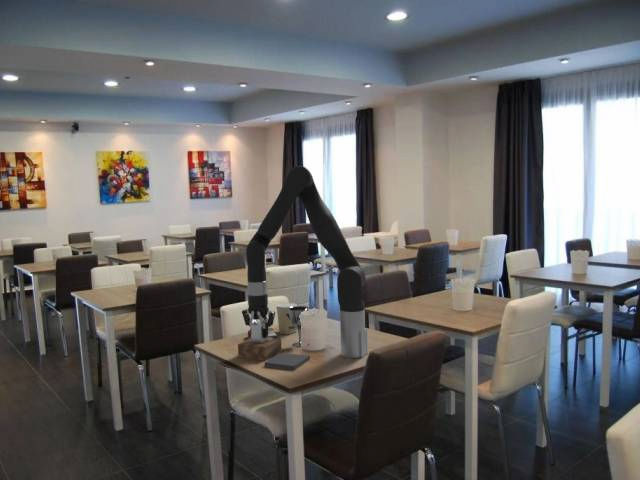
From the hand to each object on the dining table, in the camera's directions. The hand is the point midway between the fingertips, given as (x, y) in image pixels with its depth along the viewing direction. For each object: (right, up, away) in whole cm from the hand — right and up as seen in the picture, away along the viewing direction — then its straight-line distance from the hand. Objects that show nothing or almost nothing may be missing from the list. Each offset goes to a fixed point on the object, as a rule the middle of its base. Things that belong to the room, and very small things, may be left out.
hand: (259, 336), depth 205 cm
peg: (0, -7, +1) cm, 7 cm away
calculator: (-1, -6, +20) cm, 21 cm away
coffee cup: (+9, -4, +32) cm, 33 cm away
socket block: (0, -7, +1) cm, 7 cm away
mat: (+11, -8, -11) cm, 18 cm away
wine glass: (+15, -6, +11) cm, 20 cm away
